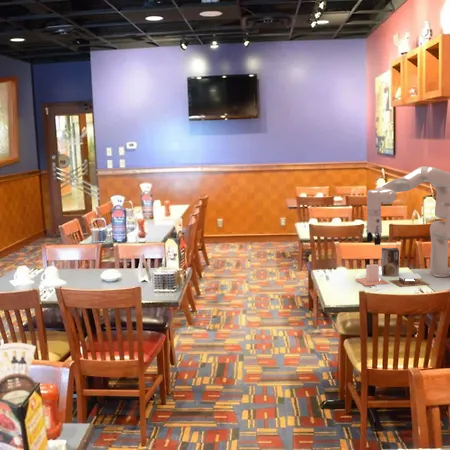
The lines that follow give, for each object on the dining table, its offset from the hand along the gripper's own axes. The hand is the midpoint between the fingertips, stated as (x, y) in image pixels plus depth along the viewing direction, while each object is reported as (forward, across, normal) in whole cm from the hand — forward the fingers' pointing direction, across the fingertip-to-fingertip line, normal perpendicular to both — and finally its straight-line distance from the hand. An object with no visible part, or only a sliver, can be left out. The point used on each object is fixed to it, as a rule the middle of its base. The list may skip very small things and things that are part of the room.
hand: (373, 243), depth 334 cm
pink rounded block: (+22, 0, +1) cm, 22 cm away
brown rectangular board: (+23, -8, -17) cm, 30 cm away
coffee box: (+23, +11, -15) cm, 30 cm away
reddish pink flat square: (+22, 0, +1) cm, 23 cm away
